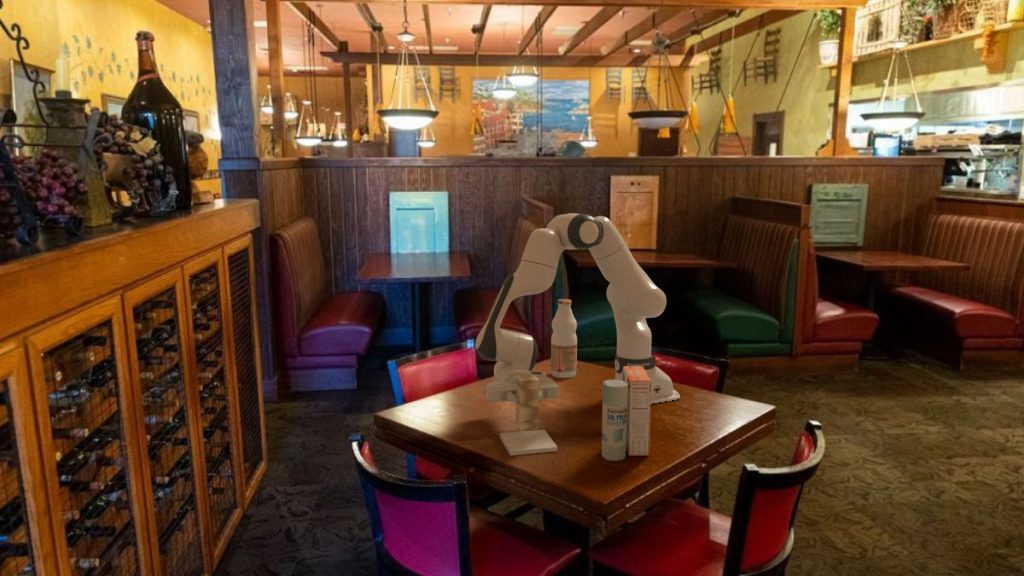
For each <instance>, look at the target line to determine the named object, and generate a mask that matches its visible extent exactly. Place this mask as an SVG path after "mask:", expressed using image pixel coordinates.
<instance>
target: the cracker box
mask: <svg viewBox="0 0 1024 576" xmlns="http://www.w3.org/2000/svg"><path fill="white" fill-rule="evenodd" d="M623 381H625V382H627V383H628V400H627V428H626V452H627V456H629V457H639V456H640V457H649V456H650V440H651V438H650V436H651V434H650V433H651V428H650V427H651V404H650V402H651V381H650V379H649V377H648V375H647V373H646V372H645V370H644V368H643V366H623Z"/></svg>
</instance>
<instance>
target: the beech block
mask: <svg viewBox="0 0 1024 576" xmlns="http://www.w3.org/2000/svg"><path fill="white" fill-rule="evenodd" d="M516 395H518V396H519V403H515V404H516V407H515V409H516V412H515V413H516V414H515V417H516V418H515V424H516V426H517V428H518V429H519V432H523V431H535V430H539V420H540V419H539V415H540V414H539V409H540V408H539V407H540V405H539V403H540V402H539V379H538V378H537V377H536V376H535V375H534V374H533V375H517V389H516Z"/></svg>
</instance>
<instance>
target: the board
mask: <svg viewBox="0 0 1024 576" xmlns="http://www.w3.org/2000/svg"><path fill="white" fill-rule="evenodd" d="M499 438H500V441H501V442H502V444H503V445H504V447H505V449H506V450H507V451H506V452H508V454H509V456H520V455H529V454H542V453H551V452H558V445H557V444H556V443H555V441H553V439H552V438H551V437H550V435H549V434H548V432H547V431H546V430H545V429H538V430H525V431H512V432H502V433H499Z"/></svg>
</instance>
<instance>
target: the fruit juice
mask: <svg viewBox="0 0 1024 576" xmlns="http://www.w3.org/2000/svg"><path fill="white" fill-rule="evenodd" d="M557 305H558V307H557V310H556V312H555V315H554V318H553V319H552V322H551V328H552V334H551V340H550V346H551V347H550V374H551V376H552V377H554V378H557V379H571V378H575V377H576V375H577V370H578V369H577V367H578V366H577V364H578V363H577V362H578V361H577V360H578V359H577V358H578V357H577V356H578V336H577V334H576V331H577V327H578V323H577V320H576V318H575V316H574V314H573V310H572V308H571V305H572V300H571V299H568V298H560V299H558V300H557Z"/></svg>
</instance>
